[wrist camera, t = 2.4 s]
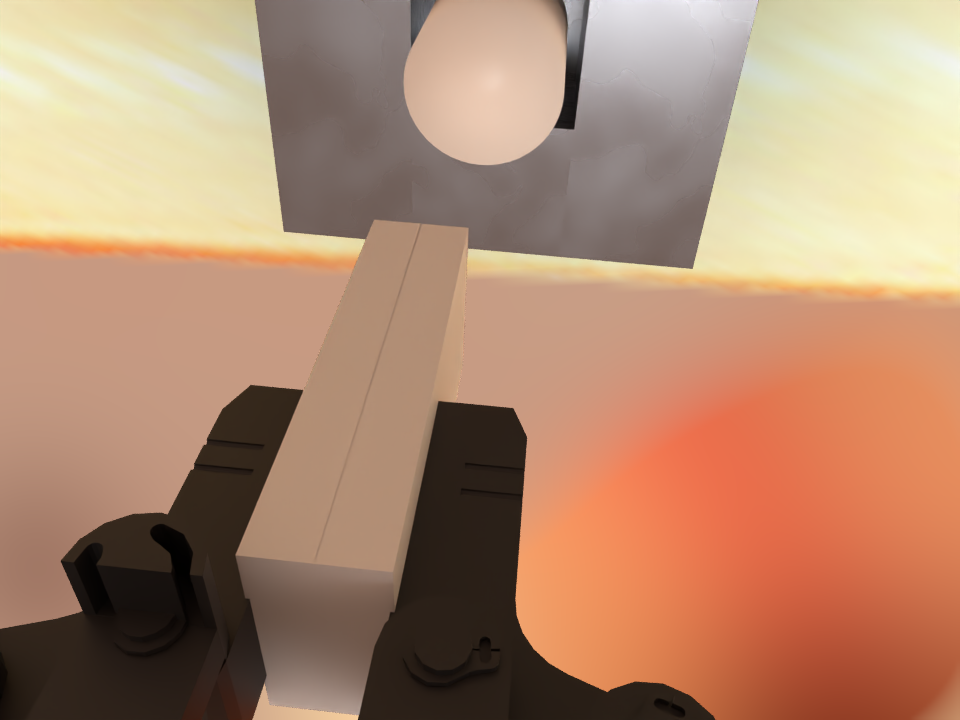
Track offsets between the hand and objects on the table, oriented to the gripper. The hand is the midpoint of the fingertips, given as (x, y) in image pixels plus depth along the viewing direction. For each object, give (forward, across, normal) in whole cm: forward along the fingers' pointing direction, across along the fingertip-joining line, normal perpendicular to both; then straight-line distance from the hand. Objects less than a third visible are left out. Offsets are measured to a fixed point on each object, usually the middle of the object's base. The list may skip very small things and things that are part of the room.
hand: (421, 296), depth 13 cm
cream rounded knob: (+14, 0, 0) cm, 14 cm away
